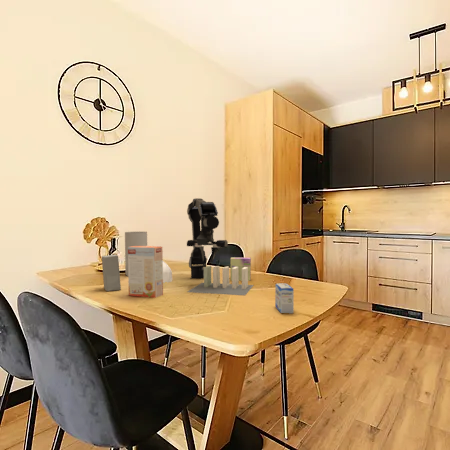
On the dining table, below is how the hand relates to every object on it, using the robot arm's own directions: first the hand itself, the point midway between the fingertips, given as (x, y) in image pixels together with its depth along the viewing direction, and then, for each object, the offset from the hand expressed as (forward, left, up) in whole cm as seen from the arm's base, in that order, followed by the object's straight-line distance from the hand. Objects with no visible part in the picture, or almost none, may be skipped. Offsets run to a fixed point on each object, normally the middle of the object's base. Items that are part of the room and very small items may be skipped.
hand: (207, 261), depth 144 cm
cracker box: (-20, -22, -12) cm, 32 cm away
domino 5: (+18, 0, -12) cm, 21 cm away
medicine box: (+38, -29, -12) cm, 49 cm away
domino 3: (+9, 0, -12) cm, 15 cm away
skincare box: (-42, -15, -12) cm, 46 cm away
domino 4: (+13, 0, -12) cm, 18 cm away
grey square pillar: (-51, +21, -12) cm, 57 cm away
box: (+12, +18, -12) cm, 25 cm away
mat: (+8, -4, -12) cm, 15 cm away
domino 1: (0, 0, -12) cm, 12 cm away
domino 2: (+4, 0, -12) cm, 12 cm away
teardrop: (-28, +8, -12) cm, 32 cm away
